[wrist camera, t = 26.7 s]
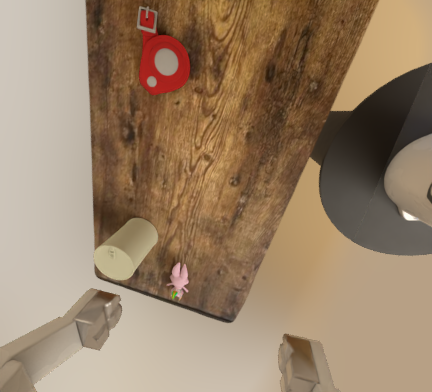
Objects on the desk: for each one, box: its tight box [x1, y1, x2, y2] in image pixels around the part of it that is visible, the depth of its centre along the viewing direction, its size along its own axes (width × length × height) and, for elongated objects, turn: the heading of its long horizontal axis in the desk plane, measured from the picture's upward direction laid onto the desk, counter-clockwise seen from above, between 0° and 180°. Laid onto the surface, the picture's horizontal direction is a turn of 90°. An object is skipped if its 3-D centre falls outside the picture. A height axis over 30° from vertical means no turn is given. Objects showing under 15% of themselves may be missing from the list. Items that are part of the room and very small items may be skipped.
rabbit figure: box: [167, 262, 189, 300], centre depth 53 cm, size 6×6×15 cm
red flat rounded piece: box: [137, 6, 190, 95], centre depth 35 cm, size 12×4×10 cm
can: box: [94, 218, 158, 280], centre depth 47 cm, size 9×9×12 cm
